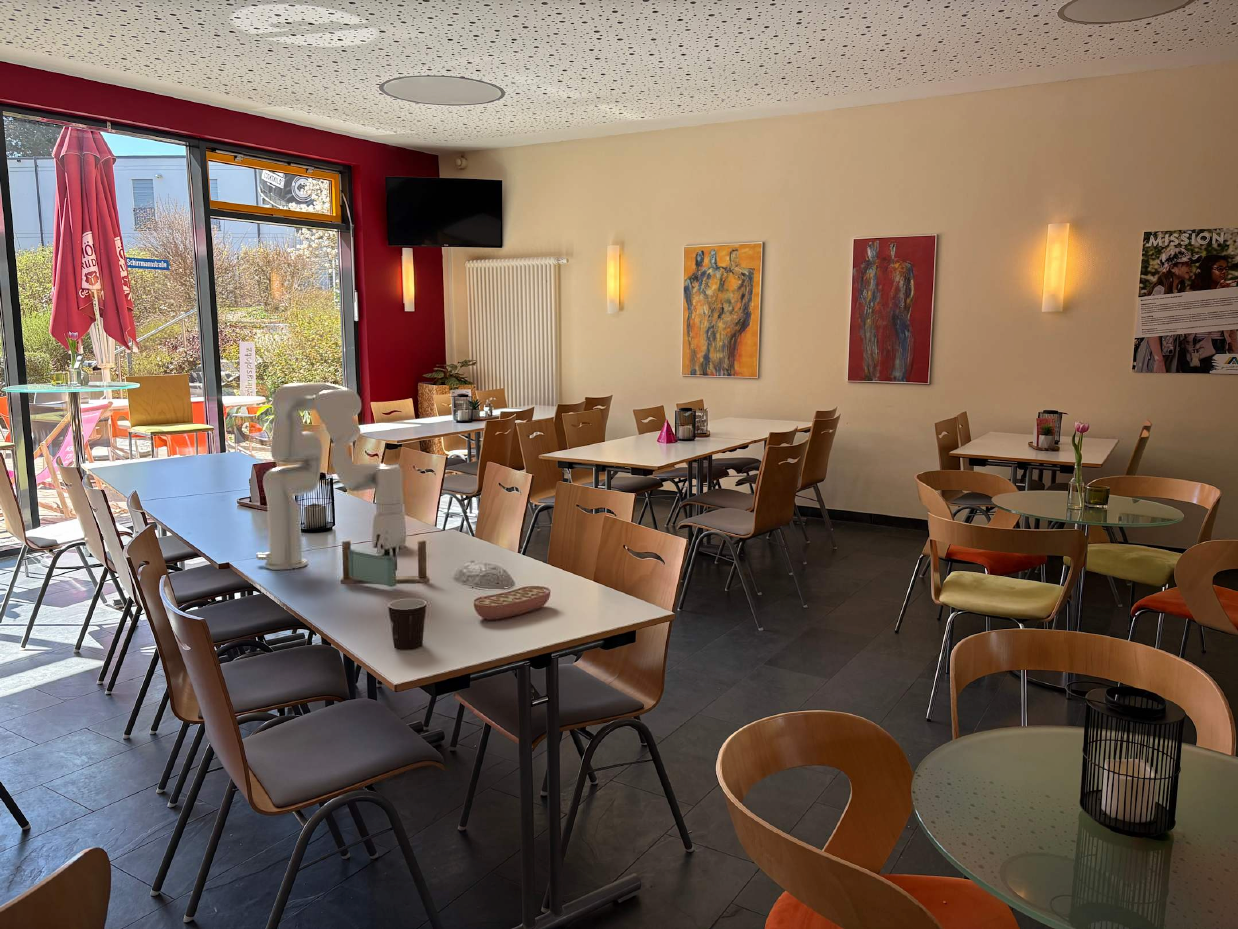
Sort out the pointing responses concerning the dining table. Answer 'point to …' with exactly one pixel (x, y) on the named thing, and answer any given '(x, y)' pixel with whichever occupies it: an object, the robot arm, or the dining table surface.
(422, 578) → the gate frame
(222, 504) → the dining table surface
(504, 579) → the grey rock
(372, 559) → the gate leaf
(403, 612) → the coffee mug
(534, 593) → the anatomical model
